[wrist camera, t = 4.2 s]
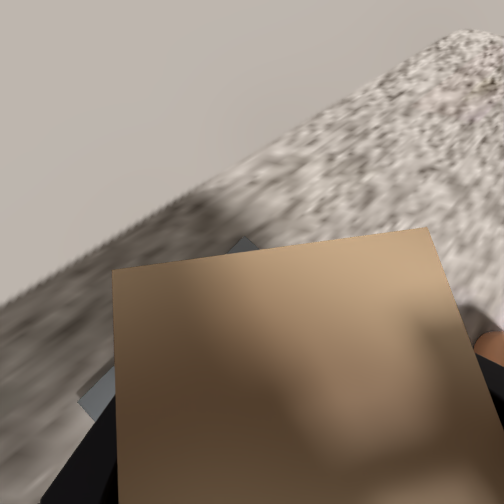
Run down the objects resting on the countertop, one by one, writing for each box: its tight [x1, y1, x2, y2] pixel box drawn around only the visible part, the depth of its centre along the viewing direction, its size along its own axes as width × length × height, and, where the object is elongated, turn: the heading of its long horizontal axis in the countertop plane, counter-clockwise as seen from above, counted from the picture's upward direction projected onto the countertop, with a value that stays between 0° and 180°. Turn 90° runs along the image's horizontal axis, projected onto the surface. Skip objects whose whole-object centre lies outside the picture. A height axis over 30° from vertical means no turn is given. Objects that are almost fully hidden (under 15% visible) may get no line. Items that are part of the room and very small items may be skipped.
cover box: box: [112, 227, 504, 504], centre depth 10 cm, size 7×7×10 cm
